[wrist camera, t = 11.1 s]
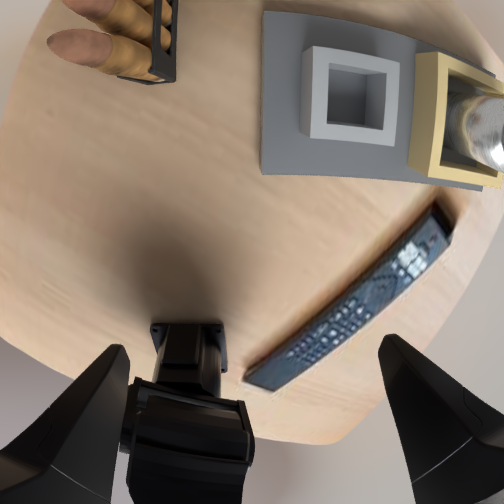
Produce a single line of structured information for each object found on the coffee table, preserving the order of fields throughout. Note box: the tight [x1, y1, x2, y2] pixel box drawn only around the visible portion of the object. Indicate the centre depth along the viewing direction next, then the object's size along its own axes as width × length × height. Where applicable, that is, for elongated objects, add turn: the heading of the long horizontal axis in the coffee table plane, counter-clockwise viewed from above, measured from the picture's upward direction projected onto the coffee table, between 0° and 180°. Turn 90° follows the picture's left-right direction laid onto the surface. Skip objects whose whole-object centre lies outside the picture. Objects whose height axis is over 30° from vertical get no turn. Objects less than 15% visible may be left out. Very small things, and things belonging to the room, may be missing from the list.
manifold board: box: [260, 11, 504, 192], centre depth 14 cm, size 10×18×4 cm, turn 90°
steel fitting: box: [442, 91, 504, 173], centre depth 12 cm, size 4×4×8 cm
